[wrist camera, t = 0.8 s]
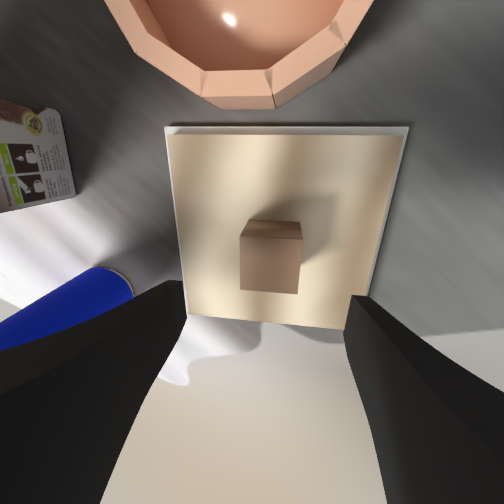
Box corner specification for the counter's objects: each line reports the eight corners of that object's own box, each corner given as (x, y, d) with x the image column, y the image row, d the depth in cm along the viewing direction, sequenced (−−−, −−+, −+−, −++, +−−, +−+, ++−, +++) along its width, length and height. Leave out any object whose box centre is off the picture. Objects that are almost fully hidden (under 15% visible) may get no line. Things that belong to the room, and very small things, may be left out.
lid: (397, 136, 14) (441, 131, 10) (353, 324, 19) (370, 367, 16) (172, 135, 15) (133, 130, 12) (191, 308, 21) (170, 344, 17)
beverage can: (77, 264, 22) (-283, 462, 8) (128, 263, 21) (-176, 482, 7) (96, 310, 24) (-164, 531, 10) (143, 311, 23) (-70, 553, 9)
